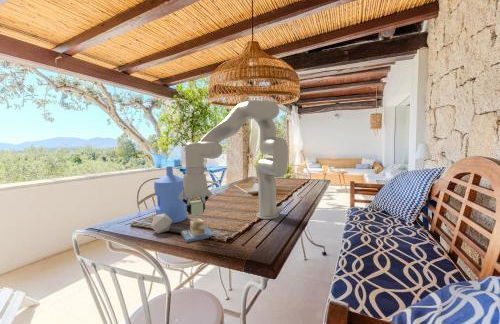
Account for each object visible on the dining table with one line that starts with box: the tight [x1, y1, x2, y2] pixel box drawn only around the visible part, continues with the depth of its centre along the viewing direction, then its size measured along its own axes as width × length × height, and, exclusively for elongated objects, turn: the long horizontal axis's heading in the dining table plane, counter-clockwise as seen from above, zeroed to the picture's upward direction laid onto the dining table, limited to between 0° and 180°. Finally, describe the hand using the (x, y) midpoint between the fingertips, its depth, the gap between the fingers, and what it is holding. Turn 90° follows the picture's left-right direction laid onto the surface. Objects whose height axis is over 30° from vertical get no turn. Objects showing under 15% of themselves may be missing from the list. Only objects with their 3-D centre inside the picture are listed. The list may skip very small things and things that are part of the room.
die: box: [150, 213, 172, 234], centre depth 113 cm, size 8×9×10 cm
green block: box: [190, 199, 204, 217], centre depth 107 cm, size 5×5×5 cm
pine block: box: [189, 218, 205, 235], centre depth 108 cm, size 5×5×5 cm
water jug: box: [153, 166, 188, 225], centre depth 128 cm, size 16×16×28 cm
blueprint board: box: [180, 225, 215, 243], centre depth 108 cm, size 12×11×1 cm
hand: (196, 212), depth 107 cm, fingers closed on green block, 4 cm apart
